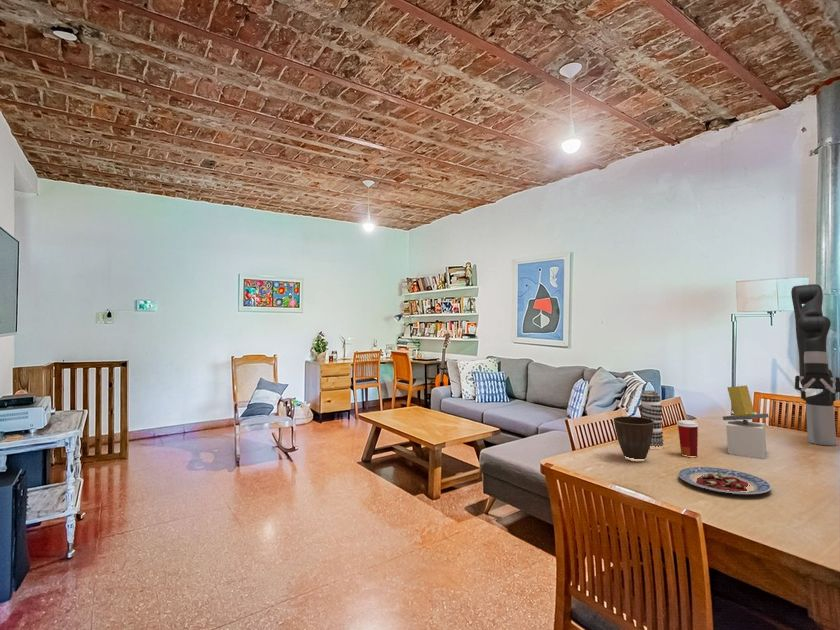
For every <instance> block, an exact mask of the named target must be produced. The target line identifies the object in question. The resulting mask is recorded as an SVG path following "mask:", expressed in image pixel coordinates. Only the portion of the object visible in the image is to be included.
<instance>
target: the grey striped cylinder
mask: <svg viewBox="0 0 840 630" xmlns="http://www.w3.org/2000/svg"><path fill="white" fill-rule="evenodd" d="M660 396H661V394H660V393H659V392H658V391H656V390H649V389H648V390H642V392H641V393H640V399H641V400H640V404H639V411H640V417H642V418H647V419H651V420H653V421H654V426H653V434H652V440H651V444H650V446H655V447H656V446H658V447H659V446H663V447H664V439H663V438H664V436H663V434H664V432H663V427H662V422H663V418H661V417H662V416H663V414H662V413H663V410H662V408H663V405H662V403H661V397H660Z"/></svg>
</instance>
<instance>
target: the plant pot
mask: <svg viewBox="0 0 840 630" xmlns="http://www.w3.org/2000/svg"><path fill="white" fill-rule="evenodd" d="M613 424H614V430H615V434H616V437H617V441H618V443H619V447H620V449H621V452H622V454H623V456H626V457H629V458H634V459H645V458H647V457H648V454H649V450H650V449H649V448H650V444H651V440H652V434H653V426H654V421H653V420H651V419H647V418H642V417H641V416H617V417H614V418H613ZM645 460H646V459H645Z"/></svg>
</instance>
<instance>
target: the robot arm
mask: <svg viewBox="0 0 840 630" xmlns="http://www.w3.org/2000/svg"><path fill="white" fill-rule="evenodd" d="M790 293H791V301H792V306H793V312H794V313H793V314H794V319H795V322H794V323H795V335H796V343H797V350H798V351H797V352H798V358H799V359H798V360H799V361H798V363H799V364H798V365H799V367H798V368H799V375H795V377H794V389H795V390H797V391H800V399H802V401H805V413H806V414H805V415H806V428H807V429H806V430H807V442H808V443H810V444H813V443H814V445H820V446H831V447H832V446H837V437H836V436H837V434H836V420H835V419H836V418H835V417H836V416H835V407H834V406H835V404H834V402H836V400H837V399H836V393H840V377H838V376H837V377H833V372H832V370H831V369H830V368H829V357H828V353H827V339H828V334H829V331H830V329H831V325H832V324H831V320H830V318H829V317H828V316H826V315H825V316H824V314H823V309H822V306H823V301H824V297H823V296H824V295H823V289H822V286H821V285H820V284H815V283H813V284H812V283H811V284H803V285H801V284H800V285H795V286H792V288H791V292H790ZM800 385H801V387H800ZM834 385H835V389H834ZM807 389H812V390H822V391H821V392H819V393H817V394H814V395H809V396H807V392H806V390H807Z"/></svg>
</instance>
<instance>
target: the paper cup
mask: <svg viewBox="0 0 840 630" xmlns="http://www.w3.org/2000/svg"><path fill="white" fill-rule="evenodd" d="M676 426H677V430H678V438H679V445H680V446H679V447H680V454H683V455H687V456H697V457H698V445H699V444H698V439H699V438H698V434H699V433H698V432H699V424H698V422H697V421H694V420H687V419H683V420H682V419H681V420H680V419H679V420H678V421H677V423H676Z"/></svg>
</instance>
